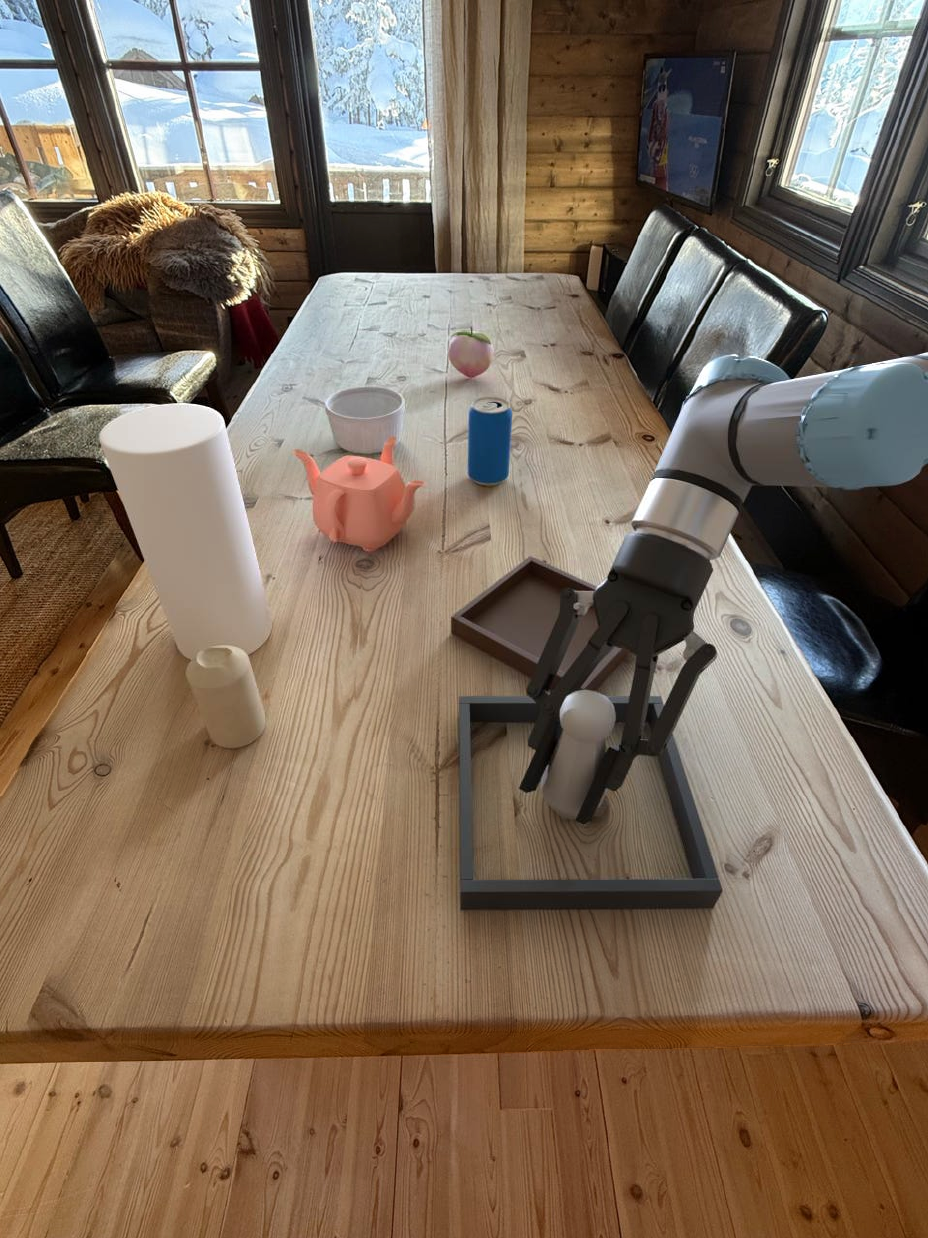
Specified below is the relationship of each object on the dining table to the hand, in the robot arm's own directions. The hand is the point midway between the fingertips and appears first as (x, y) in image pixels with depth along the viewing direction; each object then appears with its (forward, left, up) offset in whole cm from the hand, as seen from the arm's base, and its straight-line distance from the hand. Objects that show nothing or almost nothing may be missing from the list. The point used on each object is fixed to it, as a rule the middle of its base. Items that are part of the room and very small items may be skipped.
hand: (554, 804), depth 54 cm
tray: (+14, -22, -4) cm, 26 cm away
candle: (+30, +10, -4) cm, 32 cm away
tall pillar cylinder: (+43, +3, -4) cm, 44 cm away
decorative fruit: (+71, -77, -4) cm, 105 cm away
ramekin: (+66, -43, -4) cm, 79 cm away
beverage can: (+42, -46, -4) cm, 62 cm away
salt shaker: (0, -4, -4) cm, 6 cm away
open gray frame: (0, -4, -4) cm, 6 cm away
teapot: (+46, -24, -4) cm, 52 cm away
